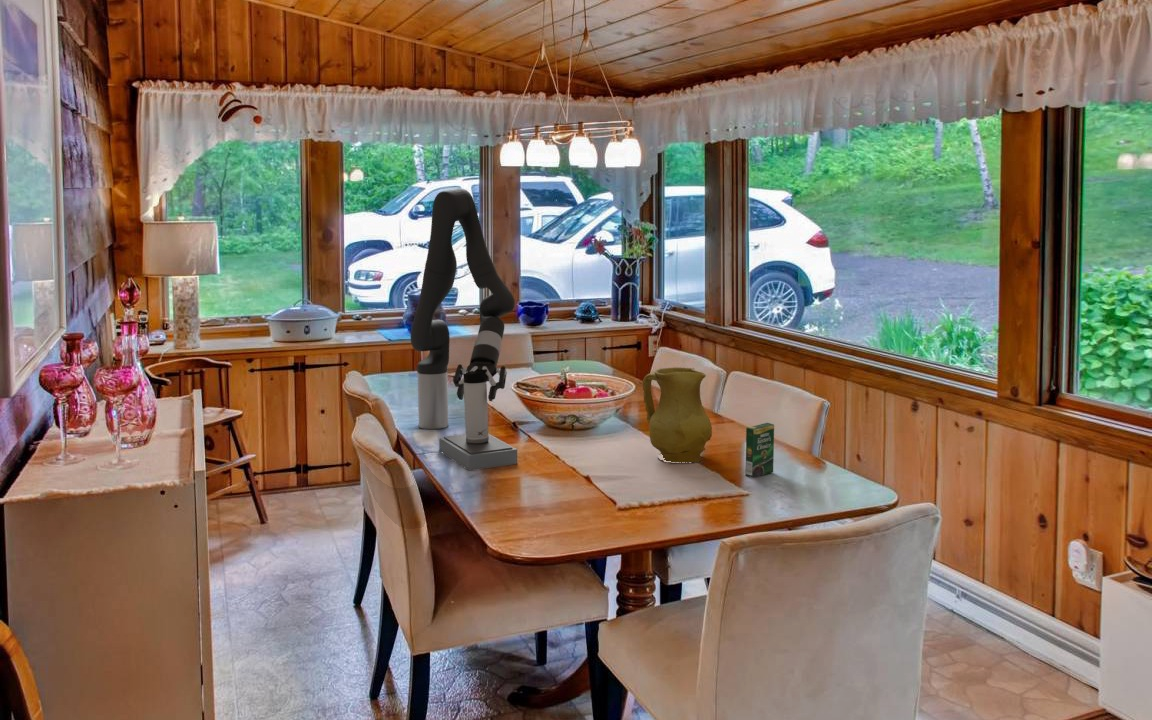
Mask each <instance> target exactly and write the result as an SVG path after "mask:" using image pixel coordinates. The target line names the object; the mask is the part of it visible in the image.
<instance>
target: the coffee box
mask: <svg viewBox="0 0 1152 720" xmlns="http://www.w3.org/2000/svg"><path fill="white" fill-rule="evenodd" d="M745 429H746V431H745V432H746V434H745V435H746V436H745V471H744V472H745V477H750V478H751V479H753V478H757V477H759V476H764V475H768V474H769V475H770V474H772V473H774V454H775V453H774V452H775V451H774V448H775V445H774V444H775V424H773V423H769V422H765V423H760V424H756V425H752V426H747V427H746V428H745Z"/></svg>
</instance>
